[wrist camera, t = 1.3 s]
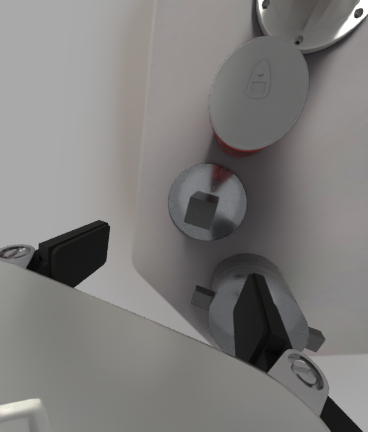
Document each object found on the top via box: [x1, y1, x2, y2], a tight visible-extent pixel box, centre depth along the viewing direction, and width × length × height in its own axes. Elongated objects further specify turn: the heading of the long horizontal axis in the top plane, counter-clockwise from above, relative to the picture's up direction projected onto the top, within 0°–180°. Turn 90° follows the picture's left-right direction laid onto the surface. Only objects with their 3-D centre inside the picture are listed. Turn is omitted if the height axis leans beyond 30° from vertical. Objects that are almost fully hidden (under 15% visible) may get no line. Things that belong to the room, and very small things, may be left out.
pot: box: [191, 254, 325, 356], centre depth 26 cm, size 12×17×9 cm
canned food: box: [209, 36, 309, 157], centre depth 19 cm, size 8×8×11 cm
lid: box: [168, 164, 247, 240], centre depth 25 cm, size 13×13×7 cm
